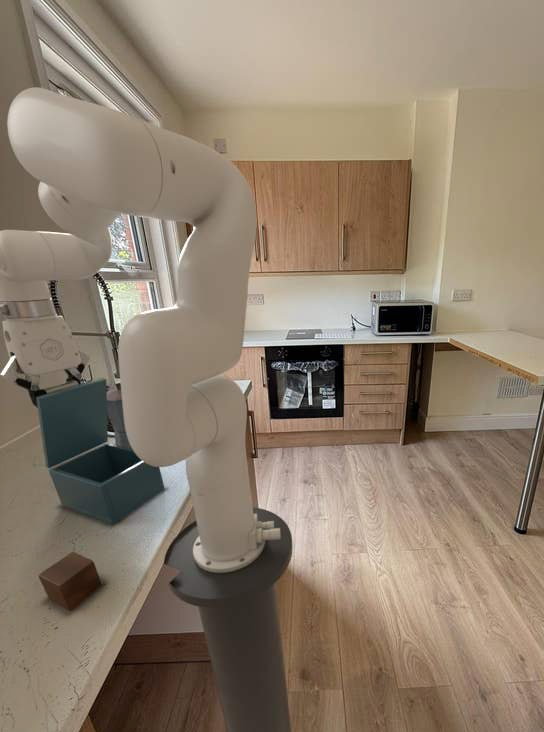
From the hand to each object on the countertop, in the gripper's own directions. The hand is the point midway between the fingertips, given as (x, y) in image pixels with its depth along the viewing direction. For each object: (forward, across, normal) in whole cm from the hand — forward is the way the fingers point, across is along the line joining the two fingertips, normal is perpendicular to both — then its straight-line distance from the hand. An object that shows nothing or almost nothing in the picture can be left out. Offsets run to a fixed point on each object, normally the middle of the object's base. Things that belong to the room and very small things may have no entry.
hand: (60, 401), depth 71 cm
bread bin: (+21, 0, -8) cm, 23 cm away
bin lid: (+4, 0, -4) cm, 6 cm away
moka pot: (+21, +16, +6) cm, 28 cm away
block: (+21, -19, -25) cm, 38 cm away
